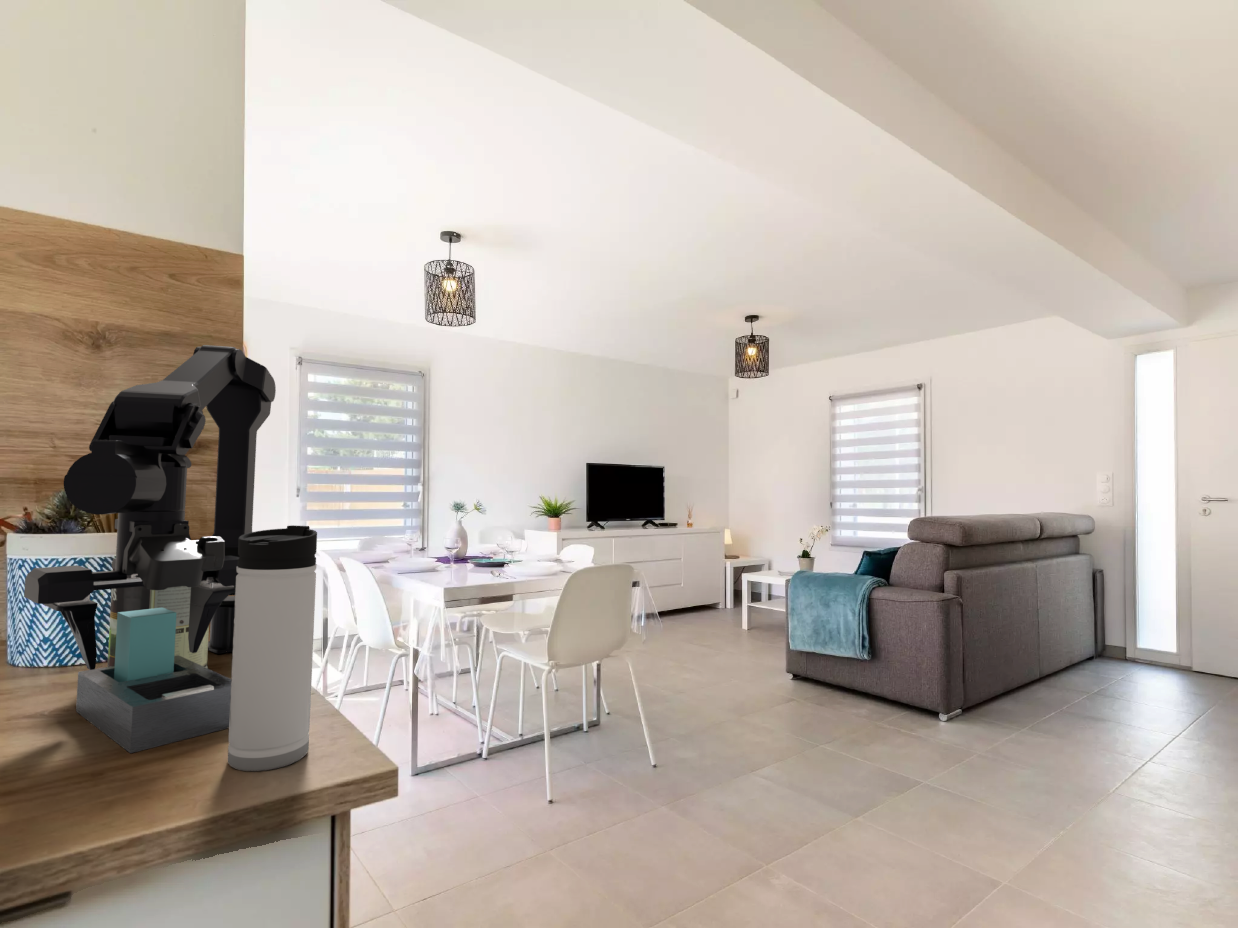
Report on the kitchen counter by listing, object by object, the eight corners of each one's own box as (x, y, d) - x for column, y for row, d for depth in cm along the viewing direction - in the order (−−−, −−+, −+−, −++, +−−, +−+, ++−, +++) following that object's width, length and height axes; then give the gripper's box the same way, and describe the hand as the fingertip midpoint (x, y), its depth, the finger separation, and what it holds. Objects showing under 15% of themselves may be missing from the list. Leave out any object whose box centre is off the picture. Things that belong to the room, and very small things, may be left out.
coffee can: (90, 691, 73) (97, 564, 74) (123, 666, 83) (129, 554, 83) (197, 683, 77) (203, 563, 77) (216, 660, 87) (221, 553, 87)
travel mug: (324, 743, 60) (333, 526, 61) (280, 774, 54) (291, 531, 54) (260, 739, 61) (270, 524, 62) (209, 769, 54) (221, 528, 55)
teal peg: (112, 709, 68) (117, 612, 68) (157, 700, 71) (162, 607, 71) (125, 718, 65) (130, 617, 66) (171, 708, 68) (176, 612, 69)
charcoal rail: (75, 711, 67) (78, 668, 67) (176, 690, 74) (178, 652, 74) (130, 753, 57) (132, 703, 57) (239, 724, 64) (241, 680, 64)
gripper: (59, 515, 56) (49, 698, 56) (279, 512, 71) (273, 656, 71) (27, 510, 63) (18, 673, 63) (234, 508, 78) (228, 640, 77)
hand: (144, 660), depth 68 cm, fingers open, 9 cm apart
